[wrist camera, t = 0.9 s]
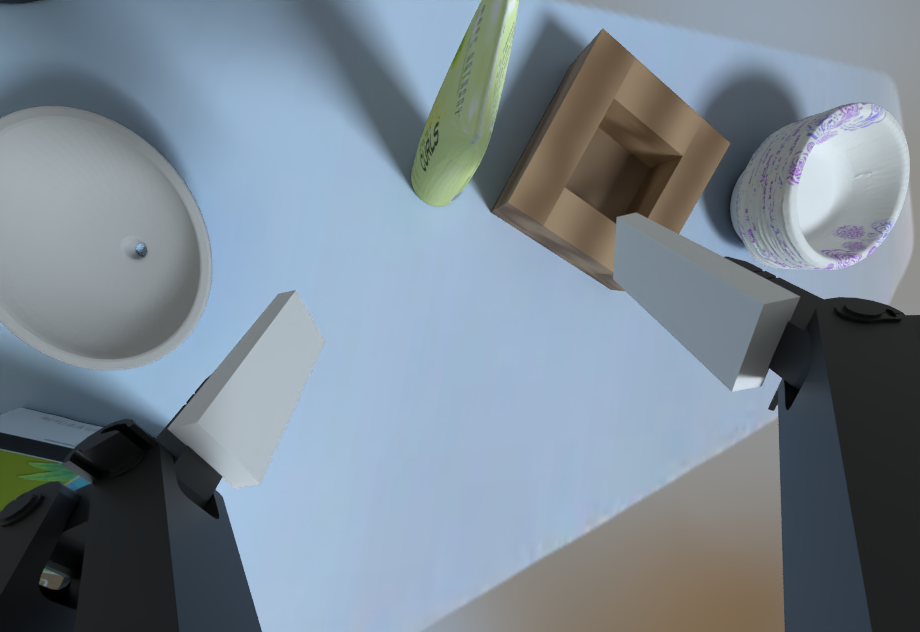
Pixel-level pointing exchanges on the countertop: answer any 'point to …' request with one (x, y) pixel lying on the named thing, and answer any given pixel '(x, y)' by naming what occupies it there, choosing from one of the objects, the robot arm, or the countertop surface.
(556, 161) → the socket block
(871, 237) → the paper bowls
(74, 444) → the tea box
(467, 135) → the tube
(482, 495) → the countertop surface
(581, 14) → the countertop surface
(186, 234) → the dish
